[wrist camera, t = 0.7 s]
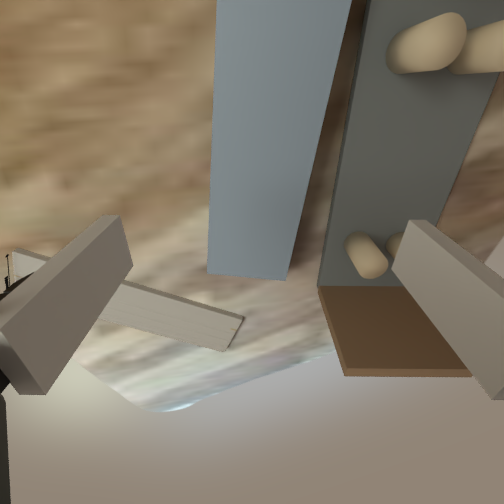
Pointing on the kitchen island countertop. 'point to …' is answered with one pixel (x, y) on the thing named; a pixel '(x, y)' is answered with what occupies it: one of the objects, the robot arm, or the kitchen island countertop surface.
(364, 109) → the peg shelf
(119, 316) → the baseboard
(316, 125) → the shelf board
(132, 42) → the kitchen island countertop surface
